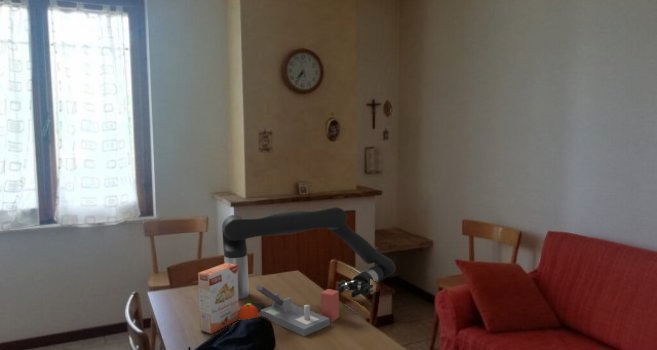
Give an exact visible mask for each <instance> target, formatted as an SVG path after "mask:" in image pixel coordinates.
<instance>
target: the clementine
mask: <svg viewBox="0 0 657 350" xmlns="http://www.w3.org/2000/svg"><path fill="white" fill-rule="evenodd" d="M251 303H252V302H247V303H246V304H244V305H243V306H241V308H240V309H239V319H240V320H241V319H248V318H254V317H259V312H258V310H257V308H256V307H255V306H254V305H252V304H251ZM240 320H239V321H240Z"/></svg>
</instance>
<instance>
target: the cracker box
mask: <svg viewBox="0 0 657 350" xmlns="http://www.w3.org/2000/svg"><path fill="white" fill-rule="evenodd" d="M197 276H198V277H197V278H198V281H197V282H198V304H199V306H198V308H199V329H200V332H201V331H202V332H204V333H207V334H211V335H212V334H214V333H216V332H218V331H220V330H222V329H223V328H226V327H228V326H230V325H232V324H234V323H235V321H236V322H238V321H240V320H239V310H240V309H239V299H238V268H237V265H235V264H230V263H225V262H224V263H222V264H219V265H216V266H213V267H211V268H208V269H204V270H203V271H200V272H198V273H197ZM237 320H238V321H237ZM233 322H234V323H233ZM231 323H232V324H231ZM229 324H230V325H229ZM227 325H228V326H227ZM225 326H226V327H225Z"/></svg>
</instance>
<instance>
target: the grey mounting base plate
mask: <svg viewBox="0 0 657 350" xmlns="http://www.w3.org/2000/svg"><path fill="white" fill-rule="evenodd" d="M273 294H274V295H275V296H277V297H278V298H279V299H281V297H280V292H279V293H278V292H276V293H273ZM282 301H283V307H282V306H279V305H277V304H276V303H275V302H273V301H272V300H271V306H268V307H264V308H263V309H261V310H260V311H259V312H260V313H259V314H260V317H261V316H263V317H266V318H268V319H269V320H270V321H269V320H268V321H269V322H272V323H273V324H276V325H279V326H280V327H283V328H285V329H287V330H289V331H292V332H294V333H296V334H298V335H300V336H302V337H306V336H308V335H311V334H313V333H315V332H317V331H319V330H322V329H324V328H327V327H329V326H330V325H331V324H330V323H331V322H330V318H327V317H325V316H322V315H321V313H317V312H315V311H312V310H311V309H310V308H311V305H310V304H305V305H303V307H302V306H299V305H297V304H294V303H292V298H291V297H290V296H289V297H287V298H284V299H283V300H282ZM263 317H262V318H263Z"/></svg>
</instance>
